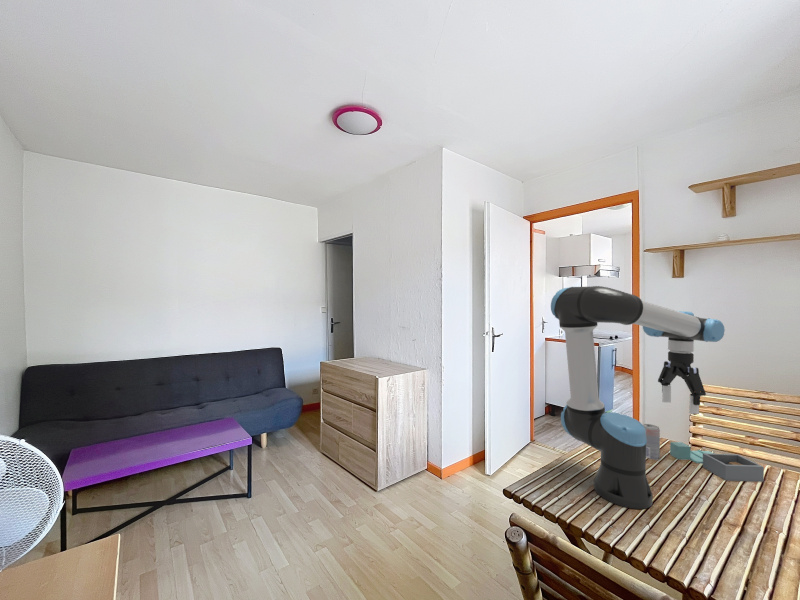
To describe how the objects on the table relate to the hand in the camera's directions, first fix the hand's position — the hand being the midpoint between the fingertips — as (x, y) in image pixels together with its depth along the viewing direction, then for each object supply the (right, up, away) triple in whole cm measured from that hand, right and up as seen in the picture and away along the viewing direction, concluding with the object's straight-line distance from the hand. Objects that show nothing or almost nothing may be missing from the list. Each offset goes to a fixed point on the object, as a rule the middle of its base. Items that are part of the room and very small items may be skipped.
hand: (679, 407), depth 129 cm
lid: (+6, -20, 0) cm, 21 cm away
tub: (+8, -19, -12) cm, 24 cm away
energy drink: (-11, -19, 0) cm, 22 cm away
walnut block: (+10, -19, -12) cm, 24 cm away
